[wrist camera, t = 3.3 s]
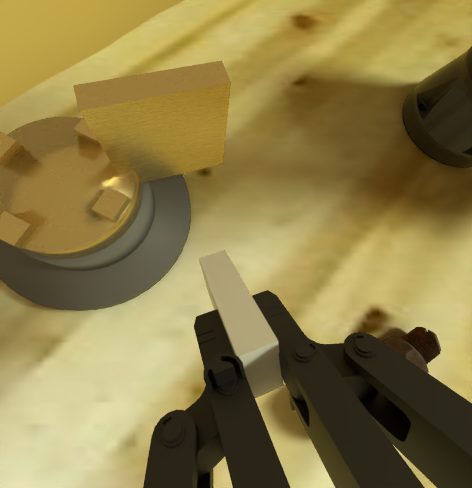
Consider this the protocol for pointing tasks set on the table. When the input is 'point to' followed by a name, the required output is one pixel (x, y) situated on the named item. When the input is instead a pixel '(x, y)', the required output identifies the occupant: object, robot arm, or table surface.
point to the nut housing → (108, 257)
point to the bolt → (416, 346)
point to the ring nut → (108, 157)
